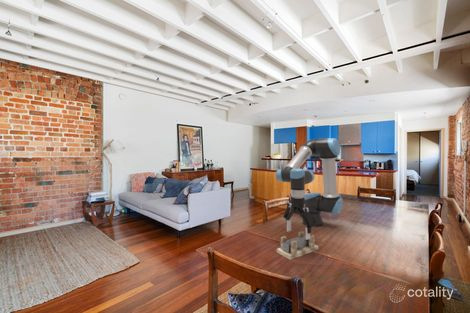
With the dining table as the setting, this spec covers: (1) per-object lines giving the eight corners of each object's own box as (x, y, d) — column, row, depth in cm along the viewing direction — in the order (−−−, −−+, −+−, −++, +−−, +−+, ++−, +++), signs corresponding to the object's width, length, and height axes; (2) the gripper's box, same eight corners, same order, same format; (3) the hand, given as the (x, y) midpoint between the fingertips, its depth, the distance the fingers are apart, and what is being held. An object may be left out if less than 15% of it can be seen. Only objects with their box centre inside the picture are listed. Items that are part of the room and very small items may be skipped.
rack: (304, 243, 134) (304, 230, 134) (318, 249, 126) (318, 235, 126) (276, 252, 123) (276, 238, 122) (290, 259, 114) (290, 244, 114)
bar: (304, 242, 131) (304, 234, 131) (311, 245, 127) (311, 237, 127) (282, 250, 121) (282, 241, 121) (288, 253, 117) (288, 244, 117)
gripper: (276, 194, 132) (277, 229, 133) (311, 202, 111) (312, 244, 112) (286, 192, 136) (286, 226, 137) (321, 200, 115) (321, 240, 116)
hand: (298, 234), depth 124 cm, fingers open, 13 cm apart
